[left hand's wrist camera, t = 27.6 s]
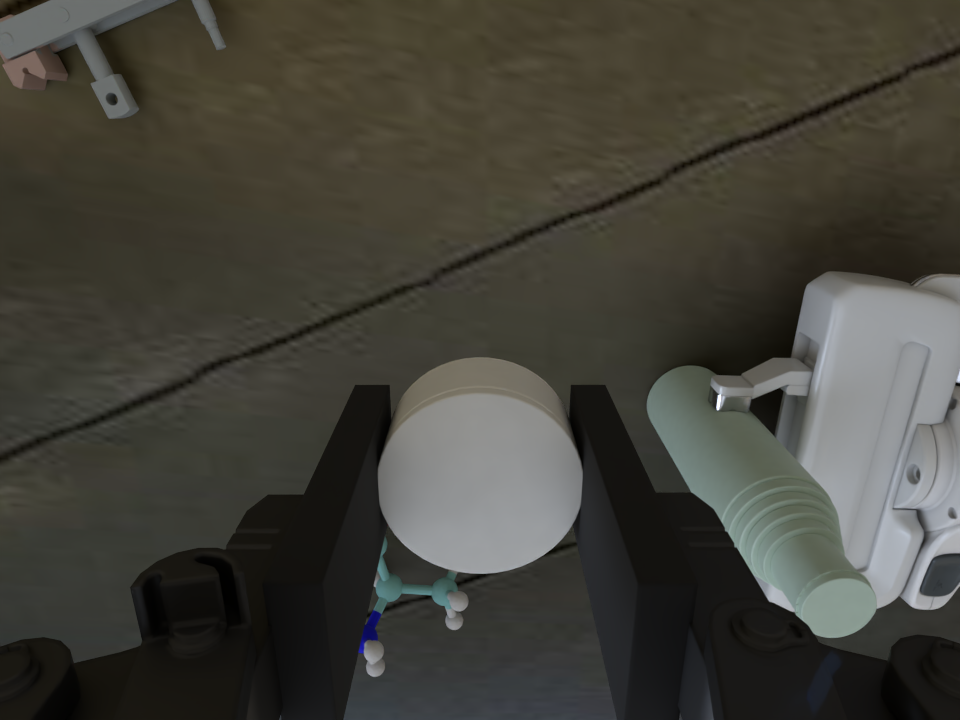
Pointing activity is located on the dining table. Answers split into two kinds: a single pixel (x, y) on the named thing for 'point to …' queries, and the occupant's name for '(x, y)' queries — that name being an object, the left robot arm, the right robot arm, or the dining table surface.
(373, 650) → the molecular model
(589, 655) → the dining table surface
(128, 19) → the clamp
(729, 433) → the bottle
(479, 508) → the cap
